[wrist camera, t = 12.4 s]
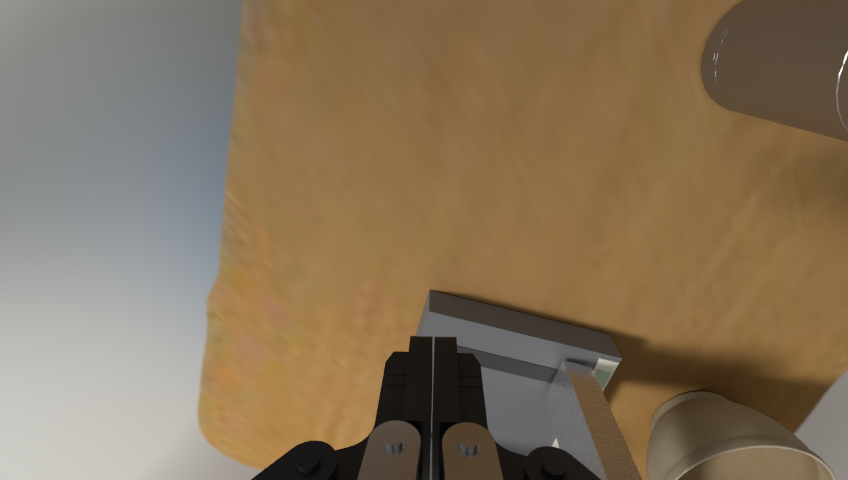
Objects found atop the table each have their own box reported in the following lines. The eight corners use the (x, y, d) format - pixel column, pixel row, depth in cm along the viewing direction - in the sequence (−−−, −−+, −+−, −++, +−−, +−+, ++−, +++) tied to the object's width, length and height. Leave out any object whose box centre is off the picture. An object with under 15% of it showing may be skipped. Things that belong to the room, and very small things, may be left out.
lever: (541, 398, 47) (585, 562, 32) (561, 357, 45) (619, 513, 30) (573, 406, 47) (632, 572, 33) (595, 365, 45) (669, 524, 30)
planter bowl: (768, 355, 49) (851, 436, 39) (758, 458, 56) (826, 550, 46) (616, 377, 51) (658, 459, 41) (623, 474, 58) (661, 566, 48)
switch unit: (383, 436, 56) (379, 467, 52) (429, 289, 47) (428, 313, 43) (536, 470, 58) (542, 502, 54) (608, 334, 49) (623, 360, 45)
